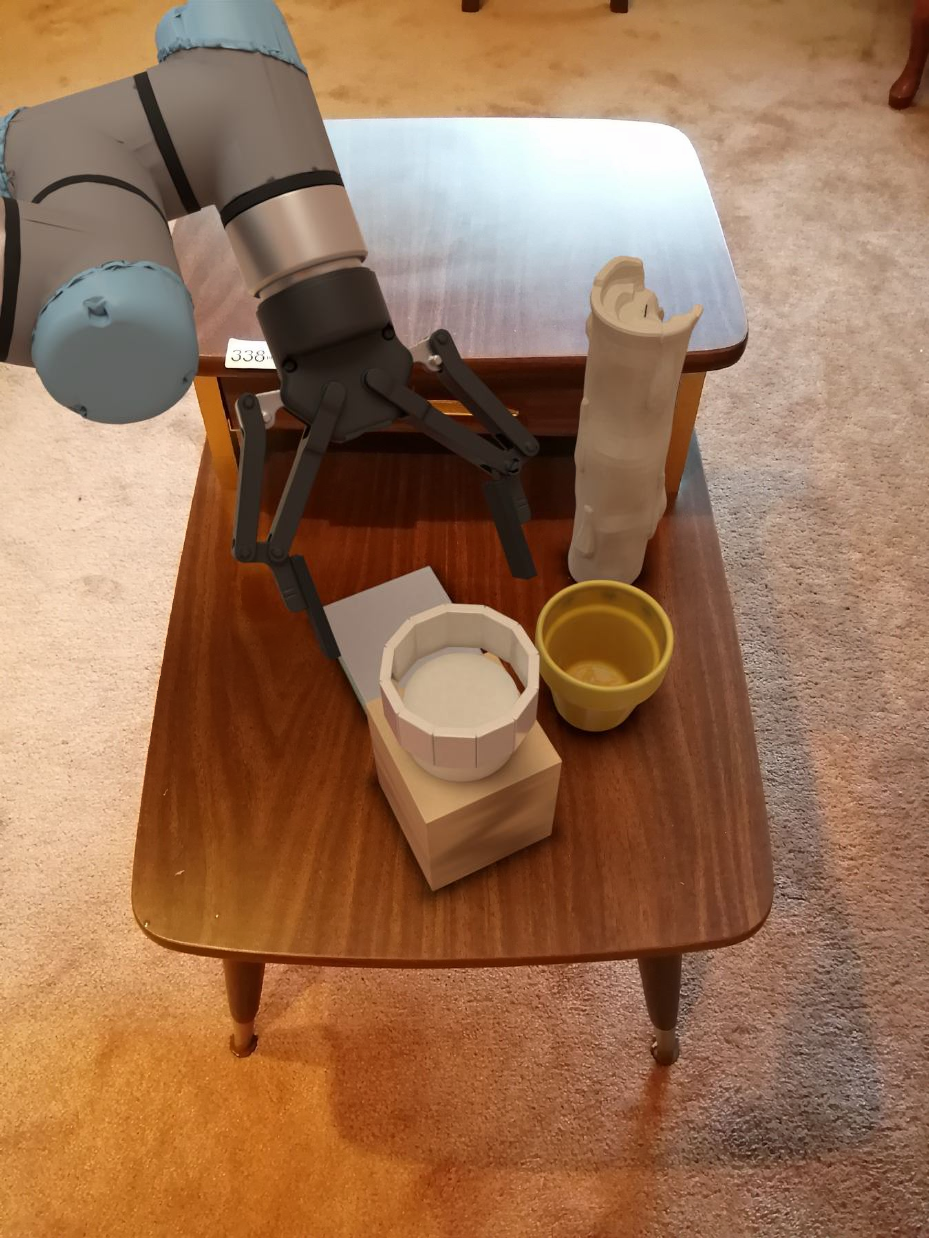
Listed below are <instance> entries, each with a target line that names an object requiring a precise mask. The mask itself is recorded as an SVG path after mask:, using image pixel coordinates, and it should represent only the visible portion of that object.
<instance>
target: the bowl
mask: <svg viewBox="0 0 929 1238" xmlns="http://www.w3.org/2000/svg"><path fill="white" fill-rule="evenodd" d="M447 647H464V648H480V649H482V650H483V651H486V652H490V653H491V654H493V655H495V656H497V657H498V658H499V659H501V660H502V661H505V662H506V663H508V664H510V666H511V668H512V669H513V671H514V673H515V674H516V676H517V678H518V679H519V681H520V682H521V684H522V686H523V687H524V691H523V692H522V693H521V696H520V697H519V693H518V691H519V689H518V687H517V684H516V683H515V681H514V678H513V677H512V676H511V674H509V672H508V671H507V669H506V668H505V667H504V668H505V669H504V668H502V667H501V666H500V665H499V664H497V663H496V662H494V661H493V660H490V659H488V658H486V657H483V656H480V655H476V654H471V653H452V654H446V655H442V656H439V657H437V658H434V659H432V660H430V661H428V662H427V663H425V664H424V665H422V666H421V667H420V668H419V669H418V670H417V671H416V672H415V673H414V674H413V675H412V676H411V678H410V679H409V681H408V683H407V685H406V687H405V690H404V692H403V698H402V700H401V698H400V696H399V695H398V693H397V691H398V683H399V682H400V680H401V679H402V678H403V677H404V676H405V674H406V673H407V672H408V671H409V670H410V668H411V667H412V666H413V665H414V664H415V662H416V661H417V660H418V659H420V658H423V657H425V656H427V655H430V654H432V653H435V652H437V651H439V650H442V649H444V648H447ZM539 664H540V656H539V652H538V651H537V649H536V648H535V644H534V643H533V642H532V640H531V639H530V637H529V635H528V634H527V632H526V631H525V629H524V628H523V626H522V624H519V622H518V621H515V619H512V618H510V617H508V616H506V615H505V614H503V613H501V612H499V611H497V610H495V609H493V608H491V607H490V606H487V605H483V604H467V603H452V604H449V603H446V605H445V604H442V605H439V606H437V607H434V608H432V609H429V610H427V611H424V612H422V613H419V614H417V615H414V616H412V617H409V619H407V620H406V621H405V622H404V623H403V625H402V626H401V627H400V628H399V629H398V630H397V632H396V633H395V634H394V635H393V636H392V637H391V638H390V640H389V641H388V642H387V643H386V644H385V647H384V648H383V655H382V662H381V670H380V677H379V683H380V690H381V697H382V703H383V710H384V716H385V718H386V720H387V722H388V724H389V726H390V728H391V729H392V731H393V733H394V735H395V737H396V739H397V741H398V743H399V745H400V746H401V747H402V748H404V749H406V750H407V751H409V752H410V754H411V755H412V757H413V758H414V760H415V761H416V762H417V763H418V765H419V766H421V767H422V768H423V769H424V770H425V771H427V772H428V773H430V774H432V775H433V776H435V777H438V778H440V779H443V780H447V781H453V782H469V781H475V780H479V779H482V778H485V777H487V776H489V775H491V774H493V773H494V772H496V771H497V770H499V769H500V768H501V767H502V766H503V765H504V764H505V763H506V762H507V761H508V759H509V758H510V756H511V755H512V753H513V751H515V750H516V749H517V748H518V746H519V745H520V743H521V742H522V741H523V739H524V738H525V736H526V735H527V734H528V732H529V731H530V729H531V728H532V727H533V725H534V724H535V721H536V720H537V711H538V703H539V702H538V700H539V693H540V692H539V690H540V671H539ZM517 689H518V690H517Z"/></svg>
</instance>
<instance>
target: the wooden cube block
mask: <svg viewBox="0 0 929 1238" xmlns="http://www.w3.org/2000/svg"><path fill="white" fill-rule="evenodd" d="M480 656H483V657H486V658H488V659H490V660H493V661H494V662H496V663H497V664H499V665H500V666H501V667H502V668H504V669H505V670H506V668H505V667H504V665H503V663H502V661H501V660H500V658H499V657H497V656H495V655H493V654H491V653H490V652H488V651H486V652H485V653H483V655H480ZM404 690H405V687H404V688H401V689H399V690H398V691H397V693H398V695H399V696H400V698H401V700H402V698H403V692H404ZM517 690H518V693H519V697H520V696H521V695H522V693H521V692H520V690H519V689H518V688H517ZM365 706H366V712H367V715H366V716H367V717H366V718H367V723H368V727H369V733H370V741H371V745H372V751H373V756H374V763H375V767H376V773H377V779H378V783H379V785H380V787H381V789H382V791H383V793H384V795H385V797H386V799H387V801H388V804H389V806H390V807H391V810H392V811H393V814H394V816H395V817H396V821H397V822H398V823H399V826H400V828H401V830H402V832H403V835H404V836H405V839H406V840H407V842H408V844H409V846H410V849H411V851H412V853H413V855H414V856H415V859H416V861H417V863H418V866H419V867H420V870H421V871H422V873H423V875H424V877H425V879H426V881H427V883H428V885H429V887H430V889H431V891H432V892H435V891H437V890H439V889H441V888H443V887H445V886H448V885H449V884H452V883H454V882H457V881H458V880H461V879H462V878H464V877H467V876H468V875H471V874H472V873H475V872H476V871H479V870H481V869H483V868H485V867H487V866H489V865H491V864H494V863H495V862H497V861H500V860H501V859H504V858H506V857H508V856H510V855H512V854H514V853H516V852H519V851H520V850H523V849H525V848H526V847H529V846H531V845H533V844H535V843H537V842H539V841H542V840H544V839H546V838H548V837H550V836H551V835H552V832H553V824H554V819H555V813H556V811H555V810H556V806H557V805H556V804H557V800H558V799H557V798H558V792H559V791H558V790H559V785H560V779H561V771H562V764H563V760H562V759H561V757H560V756H559V754H558V752H557V750H556V749H555V747H554V746H553V744H552V742H551V741H550V740H549V739H550V738H548V736H547V734H546V733H545V731H544V729H543V728H542V726H541V724H540V723H539V721H538V720H537V719H536V721H535V724H534V725H533V727H532V728H531V729H530V731H529V732H528V734H527V735H526V736H525V738H524V739H523V741H522V742H521V743H520V745H519V746H518V748H517V749H516V750H515V751H513V753H512V755H511V756H510V758H509V759H508V761H507V762H506V763H505V764H504V765H503V766H502V767H501V768H500V769H499V770H497V771H496V772H494V773H493V774H491V775H489V776H487V777H485V778H482V779H479V780H475V781H469V782H453V781H447V780H443V779H440V778H438V777H435V776H433V775H432V774H430V773H428V772H427V771H425V770H424V769H423V768H422V767H421V766H419V765H418V763H417V762H416V761H415V760H414V758H413V757H412V755H411V754H410V752H409V751H407V750H406V749H404V748H402V747H401V746H400V745H399V743H398V741H397V739H396V737H395V735H394V733H393V731H392V729H391V728H390V726H389V724H388V722H387V720H386V718H385V716H384V710H383V703H382V697H380V698H377V699H375V700H373V701H370V702H368V703H366V704H365Z"/></svg>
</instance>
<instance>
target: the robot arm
mask: <svg viewBox="0 0 929 1238" xmlns="http://www.w3.org/2000/svg"><path fill="white" fill-rule="evenodd" d="M154 42H155V46H156V51H157V55H156V59H157V62H158V64H156V65H153V66H150V67H147V68H146V69H145V70H144V71H141V72H139V73H135V74H133V75H130V76H126V77H124V78H120V79H116V80H113V81H111V82H108V83H107V82H106V83H104V84H101V85H97V86H95V87H91V88H88V89H84V90H82V91H78V92H74V93H71V94H68V95H64V96H62V97H59V98H56V99H55V98H54V99H52V100H49V101H46V102H43V103H38V104H36V105H33V106H26V105H24V106H19V107H18V108H15V109H12V110H10V112H9V113H8V114H7V115H4V116H1V117H0V363H3V364H7V365H14V366H18V367H24V368H25V367H26V368H32V369H35V373H36V374H37V376H38V377H39V379H40V381H41V384H42V385H43V387H44V389H45V391H46V392H47V393H48V394H49V395H50V397H51V398H52V399H53V400H54V401H55V402H56V403H57V404H59V405H60V406H62V407H65V408H66V409H68V410H69V411H71V412H73V413H75V414H77V415H80V416H81V418H82V419H84V420H88V421H91V422H94V423H98V424H104V425H129V424H134V423H135V424H136V423H140V422H144V421H148V420H151V419H153V418H156V417H158V416H161V415H162V414H164V413H165V412H167V411H169V410H170V409H172V408H173V407H174V406H175V405H176V404H178V403H179V402H180V400H182V399H183V398H184V397H185V395H186V394H187V392H188V391H189V390H190V388H191V387H192V385H193V383H194V379H195V378H196V376H197V375H198V372H199V371H198V369H199V363H200V349H199V348H200V347H199V339H198V334H197V328H196V327H197V326H196V320H195V314H194V311H195V304H194V300H193V297H192V293H191V291H190V289H188V287H187V285H186V283H185V281H184V277H183V274H182V270H181V267H180V264H179V261H178V258H177V254H176V249H175V247H174V241H173V236H172V233H171V229H170V225H169V222H171V221H175V220H178V219H182V218H183V217H186V216H190V215H192V214H195V213H197V212H200V211H202V209H204V208H208V207H210V206H214V207H215V208H216V209H215V210H216V211H217V213H218V215H219V216H220V217H219V219H220V222H221V225H222V226H223V229H224V232H225V233H226V236H227V239H228V241H229V245H230V247H231V250H232V253H233V255H234V258H235V261H236V264H237V267H238V269H239V272H240V275H241V278H242V281H243V283H244V286H245V288H246V291H247V294H248V295H249V296H250V297H253V298H255V299H258V300H259V299H260V300H261V302H260V303H259V304H258V305H257V307H256V309H257V310H256V312H255V316H256V319H257V321H258V324H259V327H260V329H261V332H262V334H263V337H264V341H265V343H266V345H267V349H268V350H269V353H270V357H271V359H272V362H273V365H274V367H275V369H276V370H275V371H276V373H277V376H278V389H275V390H271V391H265V392H260V393H256V394H254V393H252V392H248V391H247V392H244V393H242V394H240V396H238V398H237V400H235V403H234V412H235V413H234V414H235V417H236V419H237V420H236V421H237V424H238V428H239V431H240V435H241V440H240V441H241V443H240V453H239V465H238V475H237V485H236V497H235V508H234V519H233V528H232V540H231V556H232V557H233V559H234V560H236V561H237V562H240V563H241V564H256V563H257V564H265V565H266V566H267V567H268V568H269V570H270V573H271V575H272V577H273V579H274V582H275V585H276V587H277V590H278V591H279V595H280V598H281V600H282V602H283V605H284V606H285V608H286V609H287V610H288V611H289V612H290V613H291V614H294V615H295V614H297V613H300V612H302V611H305V613H306V616H307V619H308V621H309V623H310V626H311V629H312V631H313V634H314V636H315V639H316V641H317V644H318V647H319V649H320V652H321V654H322V656H324V657H325V658H326V659H327V660H329V661H333V660H335V659H338V657H340V656H342V655H341V653H340V650H339V648H338V645H337V642H336V640H335V637H334V635H333V632H332V629H331V627H330V624H329V621H328V619H327V616H326V614H325V611H324V608H323V607H324V606H323V603H322V601H321V598H320V596H319V593H318V590H317V588H316V586H315V583H314V579H313V577H312V575H311V572H310V569H309V566H308V563H307V562H306V559H305V556H304V555H302V554H300V553H296V554H293V555H290V551H291V548H292V545H293V542H294V540H295V537H296V534H297V531H298V528H299V525H300V522H301V519H302V518H303V517H302V516H303V513H304V510H305V508H306V505H307V501H308V499H309V497H310V494H311V491H312V489H313V485H314V483H315V480H316V477H317V474H318V472H319V469H320V466H321V463H322V461H323V458H324V456H325V454H326V452H327V449H328V446H329V444H330V442H331V443H336V444H337V443H338V444H343V443H345V442H349V441H352V440H355V439H358V438H359V437H360V436H362V435H363V434H365V433H373V432H377V431H380V430H383V429H386V428H388V427H391V426H393V425H394V423H395V422H397V420H399V421H400V422H402V423H404V424H405V425H407V426H410V427H413V428H415V429H417V430H418V431H419V432H421V433H423V434H424V435H426V436H428V437H429V438H431V439H432V440H434V441H435V442H437V443H439V444H440V445H441V446H444V447H445V448H446V449H448V450H450V451H452V452H453V453H455V454H456V455H458V456H459V457H461V458H463V459H464V460H466V461H467V462H469V463H471V464H472V465H473V466H475V467H477V468H478V469H481V470H482V471H483V472H485V473H487V475H490V476H492V479H493V480H489V481H486V482H484V483H481V484H480V485H481V488H482V491H483V494H484V497H485V500H486V503H487V505H488V510H489V512H490V514H491V519H492V521H493V524H494V527H495V530H496V532H497V535H498V539H499V541H500V544H501V547H502V550H503V553H504V556H505V559H506V562H507V565H508V568H509V571H510V574H511V577H512V578H514V579H520V580H531V579H533V578H535V577H537V576H538V572H537V570H536V566H535V563H534V560H533V556H532V554H531V551H530V548H529V545H528V542H527V539H526V536H525V533H524V530H523V527H522V525H523V524H526V523H528V522H531V517H532V511H531V508H530V505H529V503H528V499H527V497H526V494H525V490H524V488H523V484H522V481H521V477H520V473H521V471H522V469H523V465H524V464H525V463H527V462H528V460H530V458H532V457H535V456H536V455H537V454H538V453H539V452H540V443H539V441H538V439H537V438H535V436H534V435H533V434H532V432H530V431H529V430H528V429H527V428H526V427H525V425H523V424H522V422H521V421H520V420H519V419H518V418H517V417H516V416H515V415H514V414H513V413H512V412H511V410H510V409H508V407H506V406H505V404H504V403H503V402H502V400H500V399H499V398H498V396H496V395H495V394H494V392H492V390H490V388H489V387H488V386H487V385H486V384H485V383H484V382H483V380H481V378H479V376H477V375H476V373H475V372H474V371H473V370H472V369H471V367H469V366H468V365H467V364H466V363H465V362H464V360H463V359H462V357H461V355H460V353H459V350H458V348H457V346H456V344H455V341H454V339H453V337H452V335H451V333H450V332H449V331H448V330H447V329H445V328H438V329H436V330H434V332H432V333H431V334H429V335H427V336H426V337H424V338H423V339H421V340H420V341H417V342H416V343H413V344H411V345H409V346H406V345H404V343H403V342H402V341H401V340H400V338H399V337H398V335H397V333H396V329H395V327H394V323H393V320H392V318H391V315H390V312H389V309H388V306H387V303H386V301H385V297H384V294H383V292H382V289H381V285H380V283H379V280H378V277H377V273H376V271H374V270H371V268H370V267H368V266H363V263H364V262H365V261H366V260H367V257H368V256H369V250H368V247H367V244H366V242H365V239H364V236H363V233H362V230H361V227H360V224H359V222H358V220H357V217H356V213H355V211H354V209H353V208H354V207H353V206H352V202H351V199H350V197H349V195H348V194H349V193H348V192H347V189H346V186H345V184H344V181H343V177H342V174H341V171H340V167H339V165H338V163H337V159H336V156H335V154H334V149H333V147H332V143H331V141H330V138H329V136H328V135H329V134H328V131H327V129H326V126H325V122H324V119H323V117H322V114H321V111H320V108H319V105H318V102H317V99H316V96H315V93H314V90H313V87H312V84H311V80H310V78H309V74H308V70H307V66H305V65H304V64H303V61H302V60H301V57H300V54H299V51H298V49H297V46H296V44H295V42H294V39H293V36H292V34H291V31H290V29H289V26H288V24H287V21H286V18H285V16H284V14H283V12H282V11H281V9H280V7H279V6H278V4H277V3H276V1H274V0H187V2H185V3H184V4H181V5H177V6H173V7H171V8H170V9H169V10H168V11H167V12H166V13H165V14H164V15H163V16H162V17H161V19H160V20H159V22H158V23H157V25H156V27H155V31H154ZM414 365H418V366H420V367H421V368H422V370H423V371H424V372H426V373H428V374H435V376H436V377H437V380H439V382H440V383H441V384H442V385H443V386H444V387H445V388H446V389H447V390H448V391H449V392H450V394H452V396H453V397H455V399H456V400H457V401H458V402H459V403H460V404H461V405H462V406H463V408H465V409H466V410H467V411H468V412H469V414H471V416H473V417H474V419H475V420H476V421H477V422H478V423H479V424H480V425H481V426H482V427H483V428H484V429H485V430H486V431H487V432H488V433H489V434H490V435H491V436H492V438H493V439H494V440H496V442H497V443H498V444H499V445H500V446H501V447H502V448H503V449H504V450H503V449H501V448H499V447H498V446H496V445H495V444H493V443H491V442H490V441H488V440H487V439H485V438H484V437H482V436H480V435H479V434H477V433H475V432H474V431H473V430H471V429H469V428H468V427H466V426H465V425H463V423H460V422H458V421H457V420H455V419H454V418H453V417H451V416H449V415H447V414H446V413H444V412H442V411H441V410H440V409H438V408H437V407H435V406H433V405H432V402H430V401H429V400H428V399H426V398H424V397H423V396H421V395H420V394H418V393H417V392H415V391H414V390H412V389H410V388H409V385H410V381H411V378H412V377H411V376H412V373H413V369H414ZM279 409H283V410H284V411H285V412H286V413H287V414H289V415H290V416H292V417H294V418H295V419H296V420H297V421H299V422H300V423H301V424H303V425H305V426H304V429H303V432H302V435H301V438H300V441H299V444H298V447H297V451H296V455H295V458H294V461H293V463H292V466H291V468H290V472H289V475H288V477H287V479H286V480H287V481H286V484H285V487H284V489H283V492H282V495H281V498H280V501H279V504H278V507H277V509H276V511H275V515H274V517H273V520H272V523H271V526H270V529H269V532H268V535H267V538H266V541H258V533H259V523H260V514H261V513H260V512H261V503H262V502H261V500H262V493H263V491H262V490H263V480H264V471H265V461H266V460H265V459H266V448H267V447H266V446H267V430H270V428H272V427H273V426H274V425H275V423H276V414H277V412H278V410H279Z"/></svg>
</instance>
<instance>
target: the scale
mask: <svg viewBox="0 0 929 1238" xmlns="http://www.w3.org/2000/svg"><path fill="white" fill-rule="evenodd" d="M446 603H449V604H453V602H452V600H451V599H450V597H449V596H448V594H447V592H446V591H445V589H444V587H443V585H442V584H441V582H440V580H439V579H438V577H437V575H436V574H435V573H434V570H433V569H432V568H431V565H427V566H425V567H422V568H420V569H418V570H414V571H412V572H410V573H407V574H404V575H402V576H399V577H397V578H394V579H392V580H389V581H386V582H383V583H381V584H379V585H376V586H373V587H371V588H368V589H365V590H362V591H360V592H358V593H356V594H353V595H350V596H348V597H345V598H342V599H339V600H337V601H334V602H332V603H329V604H327V605H324V606H323V608H324V611H325V614H326V616H327V619H328V621H329V624H330V627H331V629H332V632H333V635H334V637H335V640H336V642H337V645H338V648H339V650H340V653H341V655H342V656H340V657H338V658H337V659H338V661H339V663H340V665H341V667H342V669H343V671H344V673H345V675H346V677H347V679H348V681H349V683H350V685H351V687H352V689H353V691H354V693H355V695H356V697H357V699H358V701H359V703H360V705H361V708H362V709H363V711H364V713H365V715H366V716H367V712H366V706H365V704H366V703H368V702H370V701H373V700H375V699H377V698H380V697H381V690H380V683H379V677H380V670H381V662H382V655H383V648H384V647H385V644H386V643H387V642H388V641H389V640H390V638H391V637H392V636H393V635H394V634H395V633H396V632H397V630H398V629H399V628H400V627H401V626H402V625H403V623H404V622H405V621H406V620H407V619H409V617H412V616H414V615H417V614H419V613H422V612H424V611H427V610H429V609H432V608H434V607H437V606H439V605H442V604H445V605H446ZM452 653H471V654H476V655H483V654H484V653H483V651H482V650H481V648H464V647H447V648H444V649H442V650H439V651H437V652H435V653H432V654H430V655H427V656H425V657H423V658H420V659H418V660H417V661H416V662H415V664H414V665H413V666H412V667H411V668H410V670H409V671H408V672H407V673H406V674H405V676H404V677H403V678H402V679H401V680H400V682H399V683H398V690H399V689H401V688H404V687H406V685H407V683H408V681H409V679H410V678H411V676H412V675H413V674H414V673H415V672H416V671H417V670H418V669H419V668H420V667H421V666H422V665H424V664H425V663H427V662H428V661H430V660H432V659H434V658H437V657H439V656H442V655H446V654H452Z"/></svg>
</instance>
